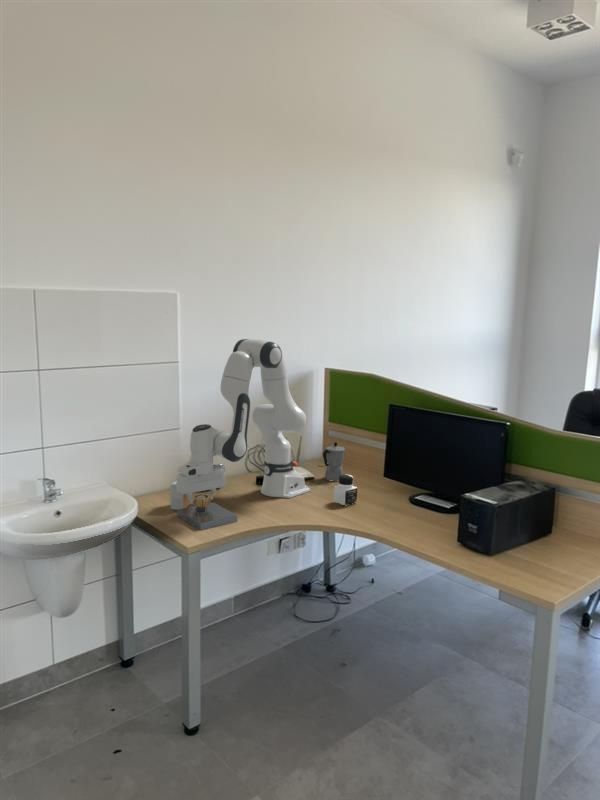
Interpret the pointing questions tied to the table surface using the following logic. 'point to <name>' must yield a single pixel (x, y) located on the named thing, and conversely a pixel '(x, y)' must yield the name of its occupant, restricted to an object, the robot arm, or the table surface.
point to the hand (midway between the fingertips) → (201, 501)
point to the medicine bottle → (345, 490)
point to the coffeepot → (334, 461)
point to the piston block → (207, 515)
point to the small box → (178, 498)
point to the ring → (202, 500)
